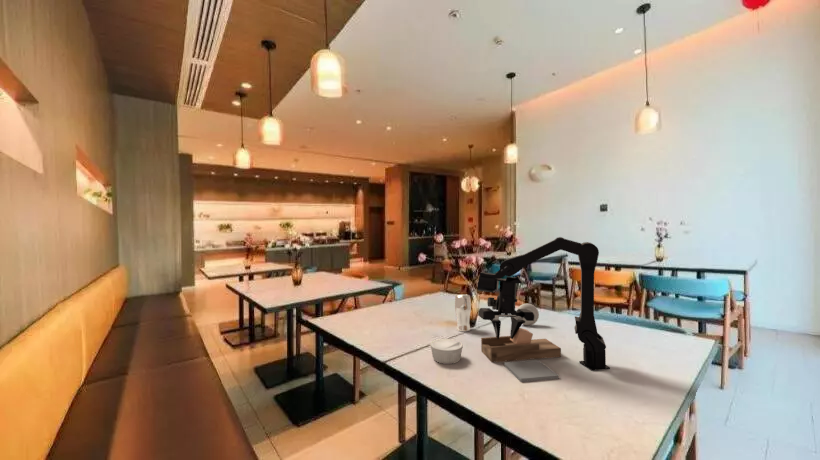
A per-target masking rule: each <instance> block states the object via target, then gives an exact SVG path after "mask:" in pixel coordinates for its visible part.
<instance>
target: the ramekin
mask: <svg viewBox="0 0 820 460" xmlns="http://www.w3.org/2000/svg"><path fill="white" fill-rule="evenodd" d="M429 344H430V345H429V346H430V349H431V354H432V359H433V360H434V361H435V362H436V361H437V363H438V362H439V363H438V364H442V363H443V364H445V365H452V363H453V364H455V363H458V362H459V361H460V360H461V357H462V350H463V348H464V346H463V343H462V341H459V340H457V339H452V338H439V339H435V340H433V341H431V342H430V343H429Z"/></svg>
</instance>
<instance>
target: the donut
mask: <svg viewBox="0 0 820 460" xmlns="http://www.w3.org/2000/svg"><path fill="white" fill-rule="evenodd" d="M518 309H528V310H530V311H531V312H533V313H534V315H535V318H534V321H527V320H525V318H524V319H523V320H524V321H525V323H523V324H522V325H523V326H527V327H528V326H532V325H534V324H536V323H537V321H538V320H539V317H540V314H539V310H538V308H537V307H536V306H535V305H534V304H531V303H523V304H521V305H519V306H518V308H517V309H516V311H517V310H518Z"/></svg>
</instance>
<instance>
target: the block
mask: <svg viewBox="0 0 820 460" xmlns="http://www.w3.org/2000/svg"><path fill="white" fill-rule="evenodd" d="M533 335H534V334H533V333H532V332H531V331H530V330H528V329H525V328H522V327H520V328H519V329H518V331H517V332H516V334H515V336H514V338H513V339H511V338H510V340H511V341H513V342H514V343H515V344H517V345H518V344H530V343H531V340H533Z"/></svg>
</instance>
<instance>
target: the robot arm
mask: <svg viewBox="0 0 820 460" xmlns="http://www.w3.org/2000/svg"><path fill="white" fill-rule="evenodd" d="M558 251H564V252H567V253H570V254H573V255H576V256H577V258H578V262H579V266H580V312H579V316H576V315H575V316H574V320H575V321H574V322H575V326H574V333H575V335H576V334H577V338H578V340H579V341H580V342H581V343H582V344H583V349H582V350H583V353H582V354H583V355H582V357H583V360H579V364H581V365H582V366H583V367H586V368H587V369H588V370H590V371H602V370H603V371H604V370H611V367H610V366H609V365H607V364H606V362H607V360H606V357H607V356H606V355H607V354H606V353H607V352H606V350H607V345H606V343H605V340H604V337H603V336H602V335H601V334H599V333H598V329H597V328H598V327H597V323H596V319H595V270H596V267H597V263H598V258H599V254H600V251H599V248H598V246H596V245H595V244H593V243H592V242H589V241H588V242H587V241H584V242H582V243H581V242H578V241H574V240H570V239H568V238H567V239H566V238H564V237H561V236H558V237H556V238H555V239H554V240H551V241H549V242H547V243H545V244H543V245H541V246H539V247H536V248H534V249H532V250H530V251H527V252H526V253H524V254H520V255H516V256H512V257H507V258H506V259H505V260H504V261H502V262H501V263H500V265H499V269H498V270H497V271H496V272H495V273H488V272H484V271H481V272H479V276H478V281H477V291H479V292H487V293H495V292H496V291H498V295H497V296H496V299H495V297H487V307H480V308H479V309H478V310H477V311H478V312H477V314H478V315H477V316H478V317H480V318H481V319H482V320H485V321H490V322H491V324H492V325H493V330H494V333H495V337H497V339H499V337H501V336H500V335H501V324H502V323H501V322H502V321H501V320H500V317H502V318H505V317H506V318H510V320H511V324H510V333H509V336H510V338H511V339H513V338H514V336H515V334H516V332H517V331H518V329H519V328H521V326H522V325H523V323H525V321H524V320H523V319H524V318H525V320H527V321H534V318H535V315H534V313H533V312H531V311H530V310H528V309H518V308H517V309H518V310H517V309H516V303H518V299H517V285H518V284H522V283H523V282H524V281H523V280H522V279H521V278H520V276H519V275H516V274H517V273H519V272H520V271H522V269H524V268H525V267H527V266H529V265H531V264H533V263H535V262H536V261H539V260H541V259H542V258H545V257H548V256H549V255H552V254H554V253H556V252H558ZM514 275H516V276H515V277H513V276H514ZM504 277H506V278H504ZM490 307H491V308H492V309H491V308H490Z"/></svg>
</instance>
